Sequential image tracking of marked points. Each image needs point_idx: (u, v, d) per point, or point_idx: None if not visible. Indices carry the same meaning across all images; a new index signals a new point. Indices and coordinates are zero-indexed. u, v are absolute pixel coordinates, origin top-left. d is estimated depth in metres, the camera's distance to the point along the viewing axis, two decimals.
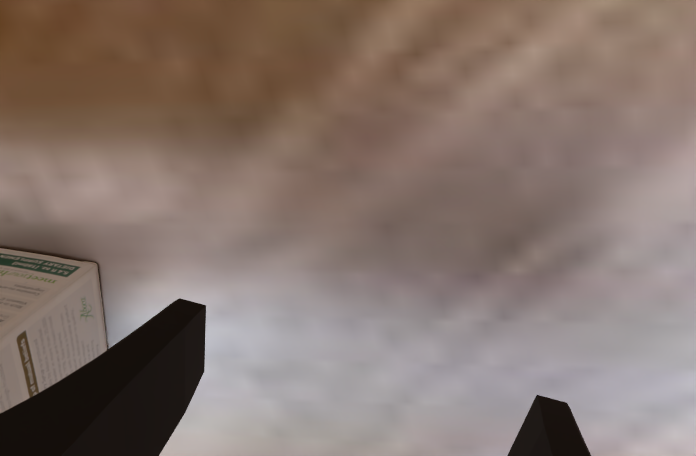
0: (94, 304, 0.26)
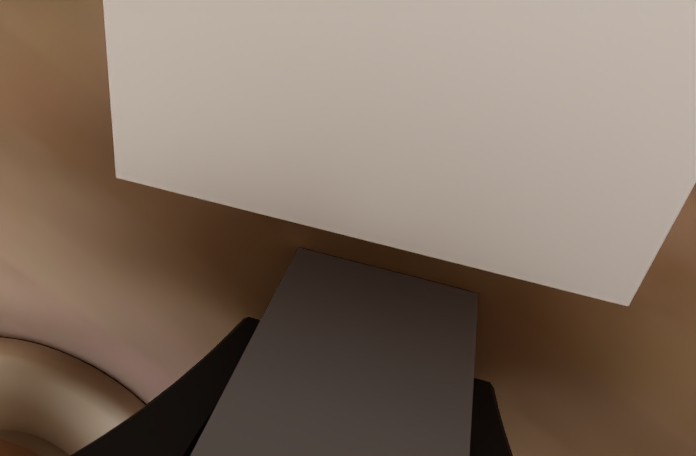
0: None
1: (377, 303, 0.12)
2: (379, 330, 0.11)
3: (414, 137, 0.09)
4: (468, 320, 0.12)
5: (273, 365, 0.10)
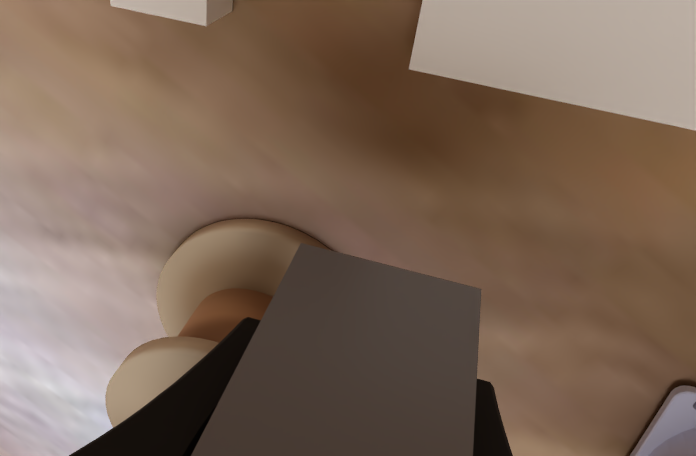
0: None
1: (380, 298, 0.12)
2: (382, 325, 0.11)
3: (619, 31, 0.15)
4: (471, 315, 0.12)
5: (276, 359, 0.10)
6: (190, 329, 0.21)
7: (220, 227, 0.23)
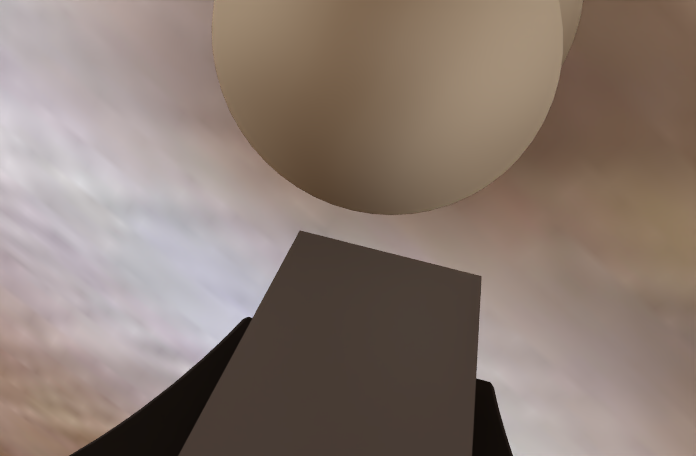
0: None
1: (379, 285, 0.12)
2: (382, 311, 0.11)
3: None
4: (471, 302, 0.12)
5: (274, 345, 0.10)
6: None
7: None
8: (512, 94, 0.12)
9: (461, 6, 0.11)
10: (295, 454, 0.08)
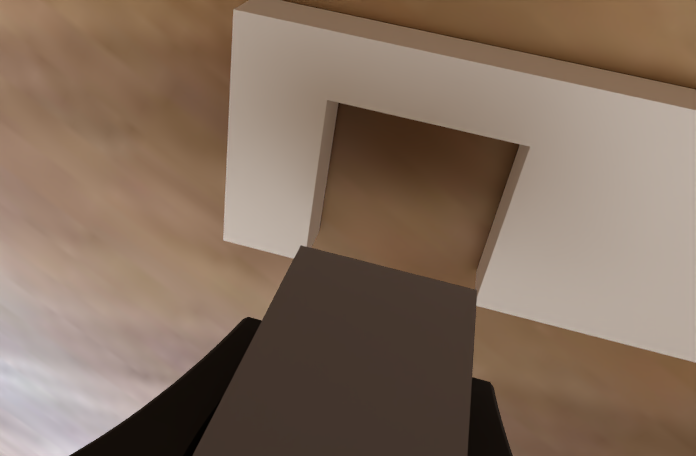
0: None
1: (378, 299, 0.12)
2: (380, 325, 0.12)
3: (649, 296, 0.19)
4: (467, 316, 0.12)
5: (277, 359, 0.11)
6: None
7: None
8: None
9: None
10: None
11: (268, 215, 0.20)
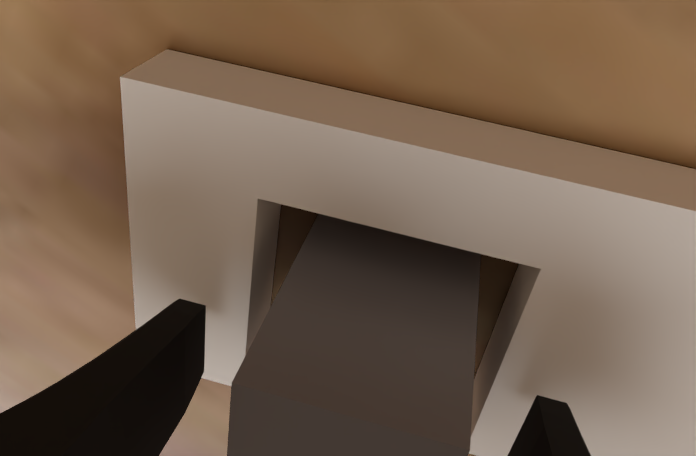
0: None
1: (393, 251, 0.14)
2: (396, 271, 0.13)
3: None
4: (473, 266, 0.14)
5: (306, 297, 0.12)
6: None
7: None
8: None
9: None
10: (328, 379, 0.10)
11: None
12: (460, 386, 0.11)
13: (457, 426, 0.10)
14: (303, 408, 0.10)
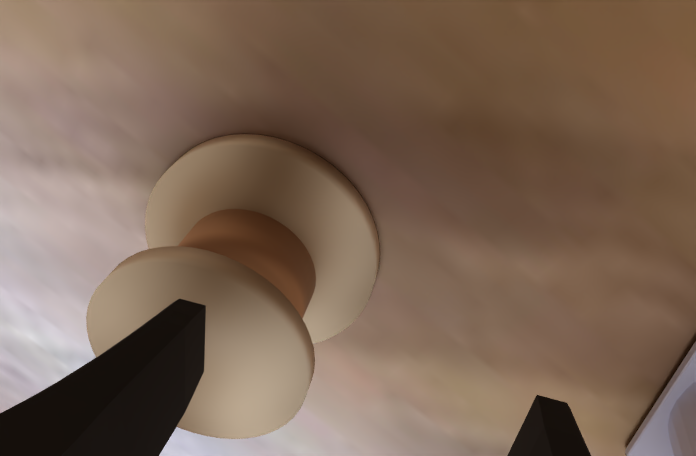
0: None
1: None
2: None
3: None
4: None
5: None
6: None
7: (214, 142, 0.21)
8: (281, 384, 0.18)
9: (239, 338, 0.17)
10: None
11: None
12: None
13: None
14: None
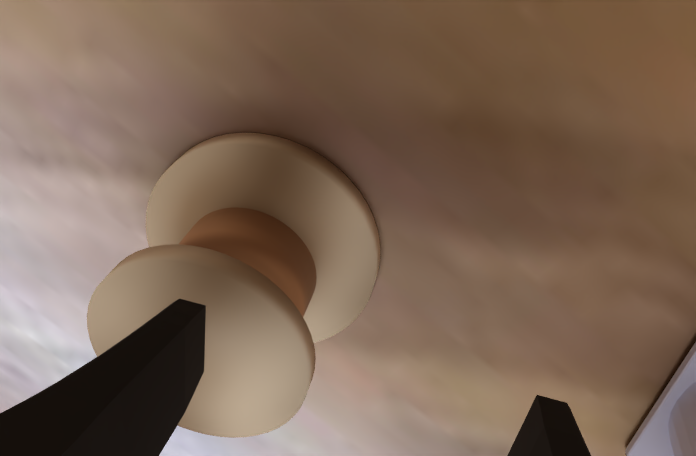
0: None
1: None
2: None
3: None
4: None
5: None
6: None
7: (215, 141, 0.21)
8: (282, 382, 0.18)
9: (240, 336, 0.17)
10: None
11: None
12: None
13: None
14: None
